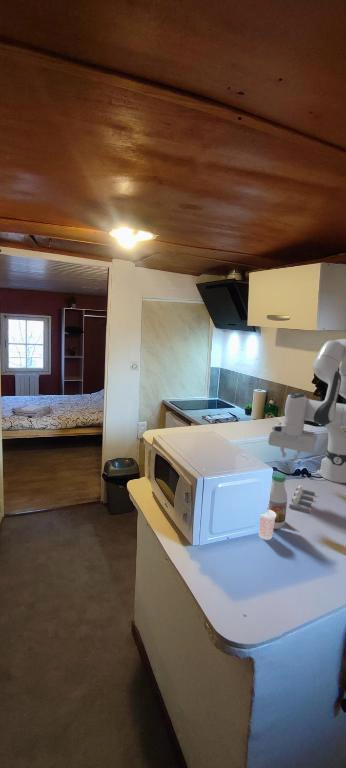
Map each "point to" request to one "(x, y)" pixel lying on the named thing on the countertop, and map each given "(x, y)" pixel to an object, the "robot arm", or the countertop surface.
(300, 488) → the tab
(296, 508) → the switch bank
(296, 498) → the tab
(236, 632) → the countertop surface
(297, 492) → the tab
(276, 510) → the milk bottle
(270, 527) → the beverage cup
